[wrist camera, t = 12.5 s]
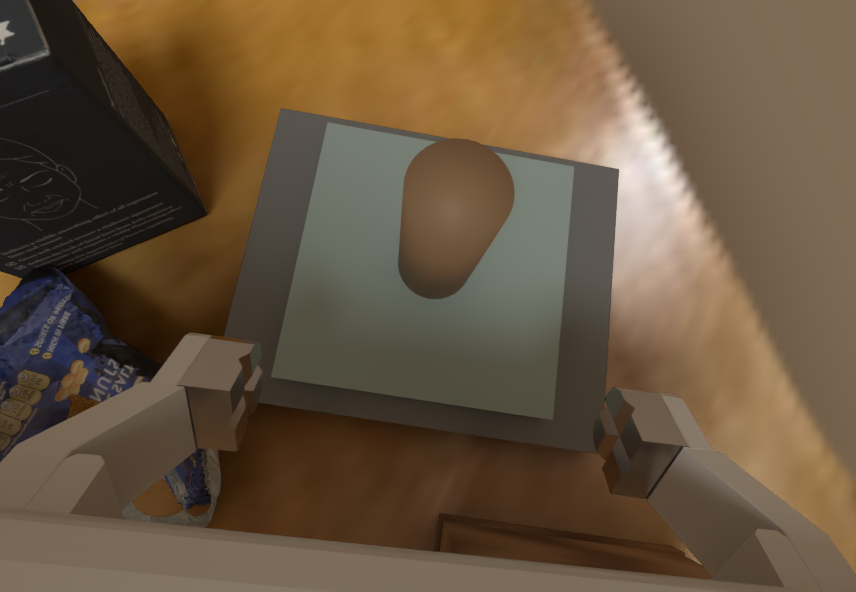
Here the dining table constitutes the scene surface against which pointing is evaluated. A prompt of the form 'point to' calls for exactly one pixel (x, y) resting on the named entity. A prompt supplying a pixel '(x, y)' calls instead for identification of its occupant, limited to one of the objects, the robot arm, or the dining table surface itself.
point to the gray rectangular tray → (570, 428)
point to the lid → (430, 273)
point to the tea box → (560, 547)
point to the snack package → (79, 379)
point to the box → (79, 146)
